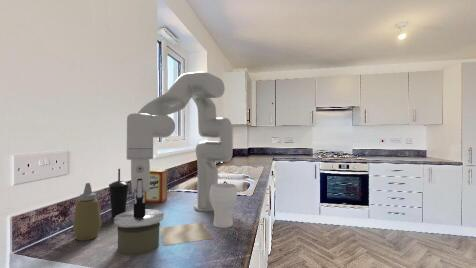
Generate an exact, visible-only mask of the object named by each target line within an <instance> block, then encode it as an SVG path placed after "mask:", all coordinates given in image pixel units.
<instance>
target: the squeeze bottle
mask: <svg viewBox="0 0 476 268" xmlns="http://www.w3.org/2000/svg"><path fill="white" fill-rule="evenodd" d="M101 226H102V220H101V210H100V201H99V200H98V199H97V193H96V192H93V190H92V185H91V183H90V182H86V183H85V185H84V189H83V193H80V194H79V200H78V201H77V202H76V203H75V210H74V218H73V226H72V229H73V232H74V235H75V238H76V239H77V241H82V242H83V241H89V240H92V239H95V238H97V236H98V235H99V232H100V230H101Z"/></svg>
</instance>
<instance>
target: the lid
mask: <svg viewBox="0 0 476 268" xmlns="http://www.w3.org/2000/svg"><path fill="white" fill-rule="evenodd" d="M134 203H135V198H134V199H133V204H134ZM163 220H164V212H163V211H161V210H158V209H149V208H148V209H146V208H145V216H144V217H134V209H132V210H128V211H125V212H124V213H121V214H119V215H117V216H116V217H115V218H113V224H114V225H115V226H116V227H118V226H119V227H125V228H137V227H144V226H149V225H153V224H156V223H158V222H159V223H160V222H161V221H163Z"/></svg>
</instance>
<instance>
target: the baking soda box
mask: <svg viewBox="0 0 476 268" xmlns="http://www.w3.org/2000/svg"><path fill="white" fill-rule="evenodd" d="M165 201H168V169H158V168H156V169H150V192H149V193H147V192H145V203H154V204H155V203H157V204H158V203H161V204H162V203H164V202H165Z"/></svg>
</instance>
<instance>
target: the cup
mask: <svg viewBox="0 0 476 268" xmlns="http://www.w3.org/2000/svg"><path fill="white" fill-rule="evenodd" d="M237 190H238V189H237V186H236V184H234V183H226V182H225V183H224V182H223V183H218V184H213V185H211V189H210V202H211V205H212V207H213V209H214V211H213V215H214V216H213V221H212V222H213V223H212V225H213V226H214V227H216V228H225V229H226V228H230V227H232V226H233V225H234V219H233V211H234V207H235V205H236V203H237V199H238V191H237Z"/></svg>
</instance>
